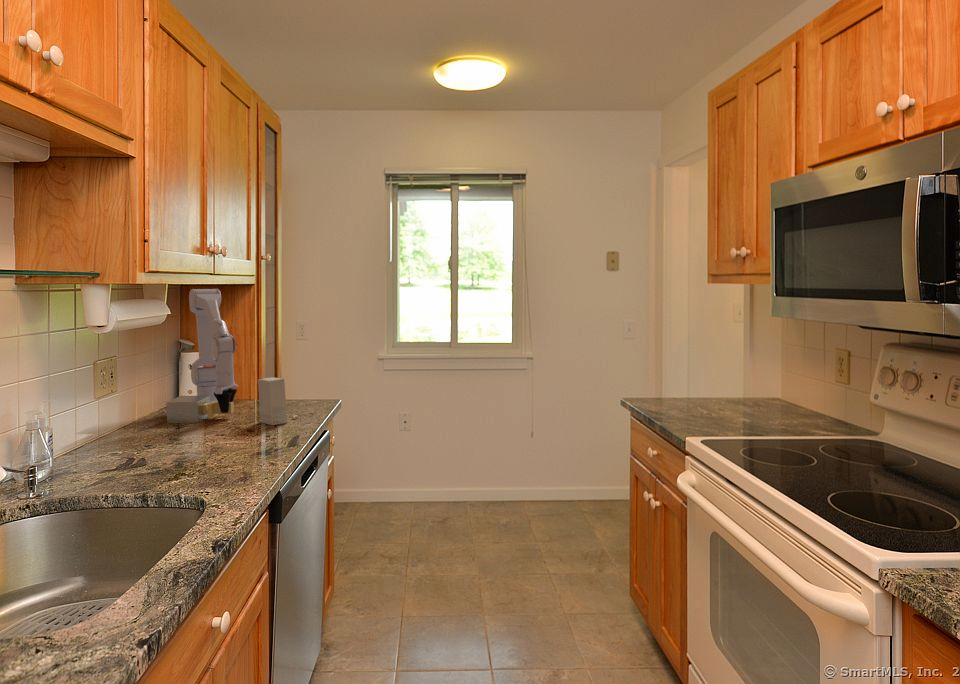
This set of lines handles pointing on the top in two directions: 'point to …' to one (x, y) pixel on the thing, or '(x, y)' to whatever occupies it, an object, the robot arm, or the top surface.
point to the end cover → (215, 409)
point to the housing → (186, 409)
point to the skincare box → (272, 401)
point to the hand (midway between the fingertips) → (226, 411)
